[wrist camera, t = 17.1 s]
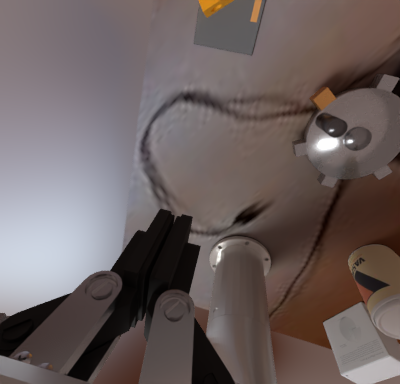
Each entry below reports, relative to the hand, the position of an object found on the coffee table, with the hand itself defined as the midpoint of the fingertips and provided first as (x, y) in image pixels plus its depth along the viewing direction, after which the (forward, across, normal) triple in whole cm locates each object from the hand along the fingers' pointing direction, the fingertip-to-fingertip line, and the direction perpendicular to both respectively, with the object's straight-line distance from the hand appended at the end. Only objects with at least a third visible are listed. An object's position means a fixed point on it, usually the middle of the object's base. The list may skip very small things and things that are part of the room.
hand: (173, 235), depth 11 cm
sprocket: (+26, -18, -3) cm, 32 cm away
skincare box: (+27, -38, +35) cm, 58 cm away
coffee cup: (+27, -33, +18) cm, 46 cm away
